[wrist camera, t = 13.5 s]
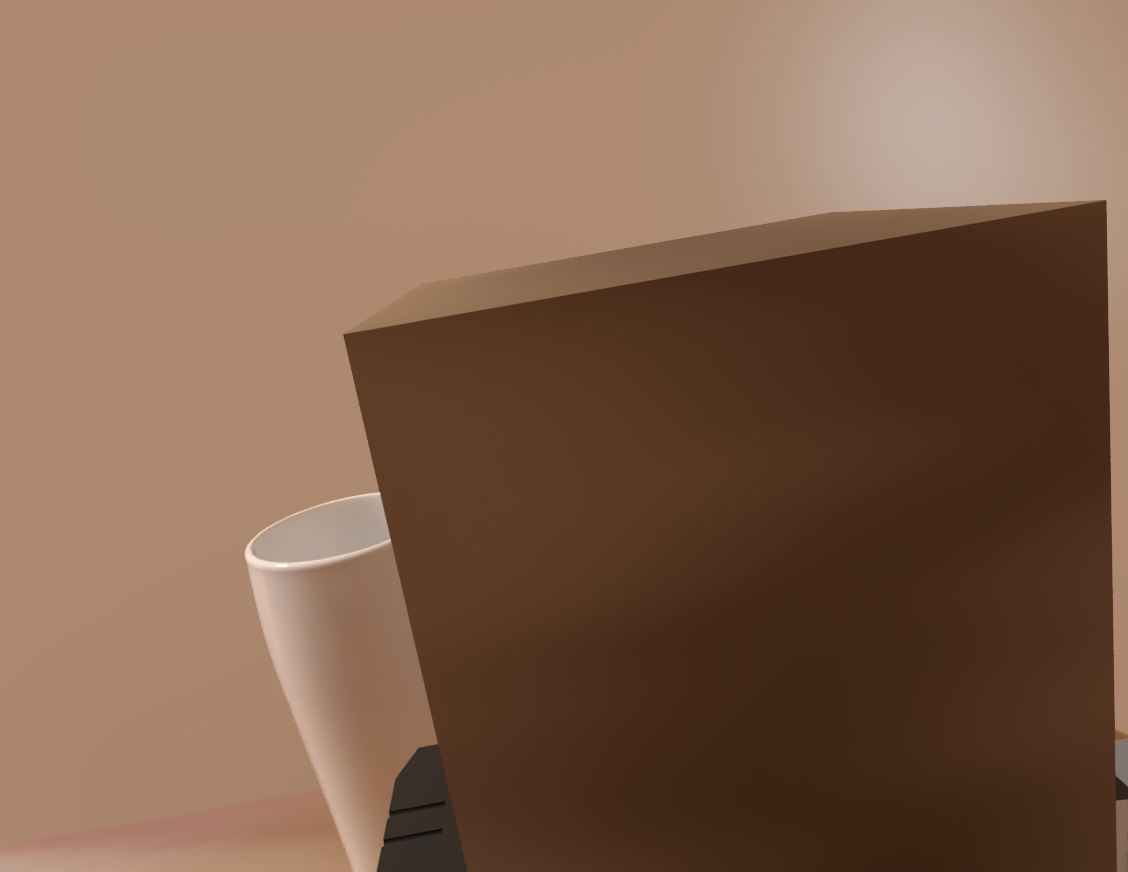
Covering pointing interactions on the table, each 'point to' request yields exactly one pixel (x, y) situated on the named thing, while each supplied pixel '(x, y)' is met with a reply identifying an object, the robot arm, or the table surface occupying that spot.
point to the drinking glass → (344, 658)
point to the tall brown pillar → (765, 545)
